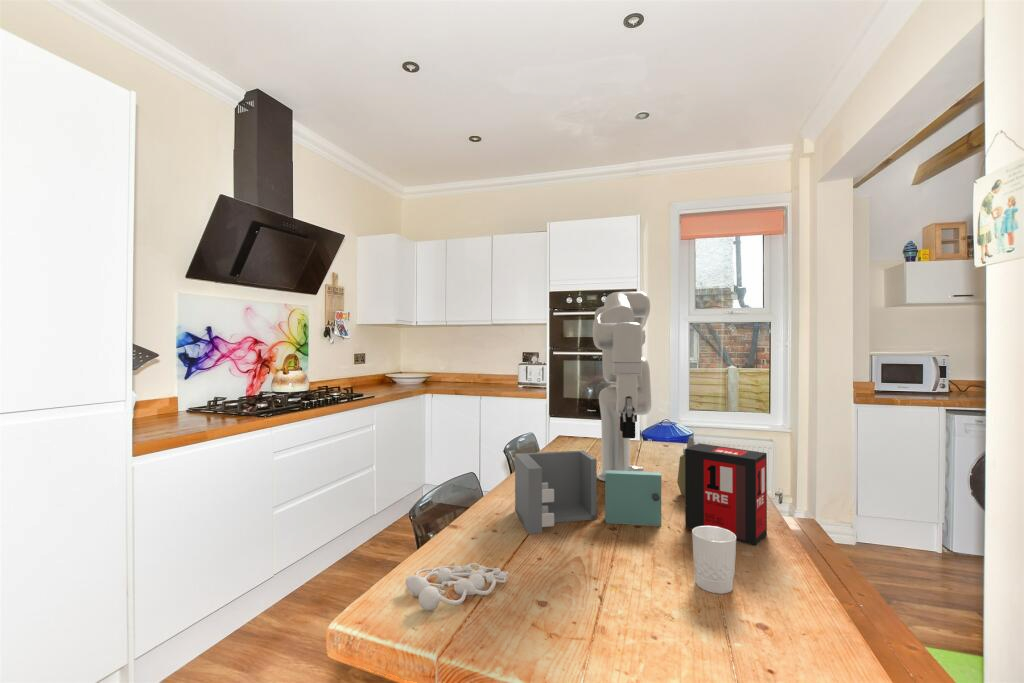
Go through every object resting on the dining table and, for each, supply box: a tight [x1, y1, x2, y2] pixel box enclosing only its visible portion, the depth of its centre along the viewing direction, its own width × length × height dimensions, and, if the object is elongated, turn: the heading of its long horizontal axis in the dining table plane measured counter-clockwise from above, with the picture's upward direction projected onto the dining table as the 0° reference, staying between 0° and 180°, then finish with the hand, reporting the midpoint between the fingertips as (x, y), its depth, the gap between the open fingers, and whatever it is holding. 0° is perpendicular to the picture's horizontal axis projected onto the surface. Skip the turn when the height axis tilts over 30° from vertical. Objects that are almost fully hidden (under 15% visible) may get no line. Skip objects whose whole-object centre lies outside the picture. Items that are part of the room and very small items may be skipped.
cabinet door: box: [604, 470, 662, 527], centre depth 124 cm, size 14×4×13 cm, turn 81°
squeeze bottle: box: [677, 436, 696, 498], centre depth 145 cm, size 8×8×18 cm
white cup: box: [691, 526, 737, 595], centre depth 92 cm, size 8×8×10 cm
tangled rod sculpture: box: [405, 562, 509, 611], centre depth 91 cm, size 19×14×4 cm
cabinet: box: [514, 450, 598, 535], centre depth 126 cm, size 20×16×16 cm
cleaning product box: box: [684, 443, 768, 547], centre depth 118 cm, size 16×9×20 cm, turn 47°
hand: (627, 434), depth 125 cm, fingers open, 9 cm apart
